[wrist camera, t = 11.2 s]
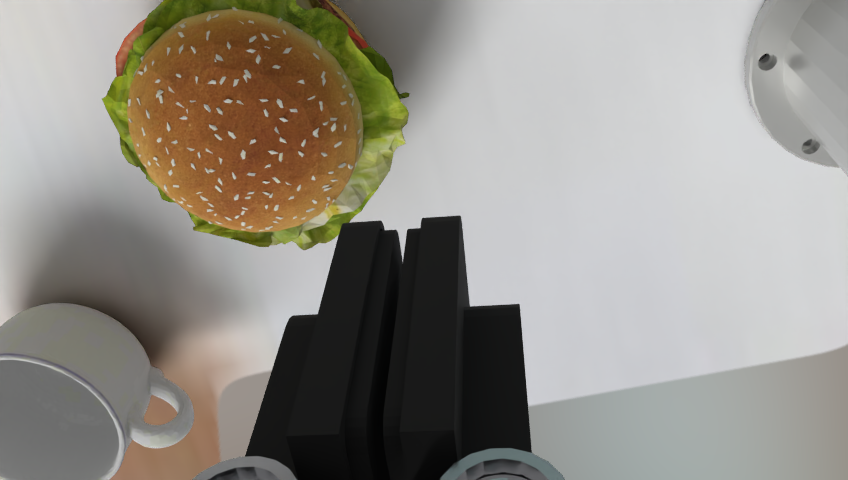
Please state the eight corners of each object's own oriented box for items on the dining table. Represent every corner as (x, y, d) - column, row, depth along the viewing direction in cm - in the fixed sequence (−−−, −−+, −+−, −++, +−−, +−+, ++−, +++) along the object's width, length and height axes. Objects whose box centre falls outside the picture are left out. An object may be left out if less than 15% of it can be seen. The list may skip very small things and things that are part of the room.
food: (276, 244, 46) (243, 330, 40) (92, 62, 41) (17, 127, 34) (462, 119, 41) (460, 194, 35) (282, -109, 36) (238, -71, 29)
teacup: (7, 379, 54) (-59, 471, 47) (5, 258, 48) (-71, 343, 41) (205, 427, 55) (168, 522, 49) (227, 314, 50) (188, 405, 43)
